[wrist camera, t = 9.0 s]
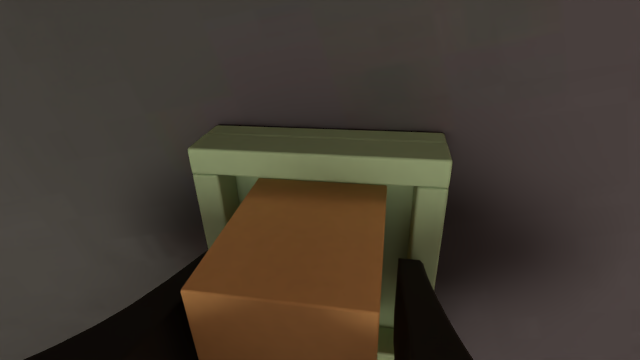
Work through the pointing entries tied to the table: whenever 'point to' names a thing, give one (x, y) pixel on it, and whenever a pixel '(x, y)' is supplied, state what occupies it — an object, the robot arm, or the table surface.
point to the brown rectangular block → (292, 275)
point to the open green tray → (340, 167)
